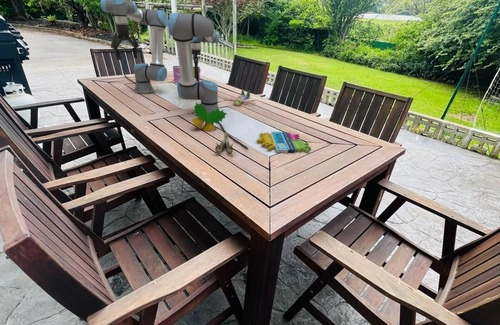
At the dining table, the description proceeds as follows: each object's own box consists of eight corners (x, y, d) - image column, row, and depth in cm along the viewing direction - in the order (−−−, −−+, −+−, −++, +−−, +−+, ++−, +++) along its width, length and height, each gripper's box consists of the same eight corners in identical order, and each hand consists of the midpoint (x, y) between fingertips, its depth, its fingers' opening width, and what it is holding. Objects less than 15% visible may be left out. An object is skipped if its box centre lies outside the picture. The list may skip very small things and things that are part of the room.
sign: (313, 150, 142) (258, 149, 139) (312, 153, 143) (258, 152, 140) (301, 132, 164) (254, 130, 161) (301, 134, 165) (254, 133, 162)
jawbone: (234, 135, 144) (233, 125, 135) (233, 160, 138) (232, 151, 129) (217, 135, 144) (216, 125, 135) (216, 160, 138) (214, 150, 129)
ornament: (218, 133, 171) (224, 110, 169) (221, 134, 163) (227, 111, 161) (186, 125, 162) (192, 101, 160) (189, 126, 155) (195, 101, 153)
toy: (261, 91, 228) (254, 99, 202) (261, 99, 231) (253, 108, 205) (231, 87, 233) (220, 95, 207) (230, 95, 236) (219, 104, 210)
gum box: (200, 81, 215) (200, 66, 209) (201, 83, 209) (200, 68, 203) (174, 81, 210) (173, 65, 205) (173, 83, 205) (172, 67, 199)
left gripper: (134, 23, 179) (138, 56, 190) (100, 23, 160) (107, 59, 170) (141, 24, 176) (145, 57, 187) (108, 24, 157) (114, 61, 167)
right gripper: (190, 46, 206) (191, 76, 217) (190, 50, 189) (191, 82, 201) (200, 47, 207) (201, 77, 219) (200, 50, 191) (201, 82, 202)
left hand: (127, 58), depth 179 cm, fingers open, 13 cm apart
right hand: (196, 79), depth 210 cm, fingers closed on gum box, 7 cm apart
